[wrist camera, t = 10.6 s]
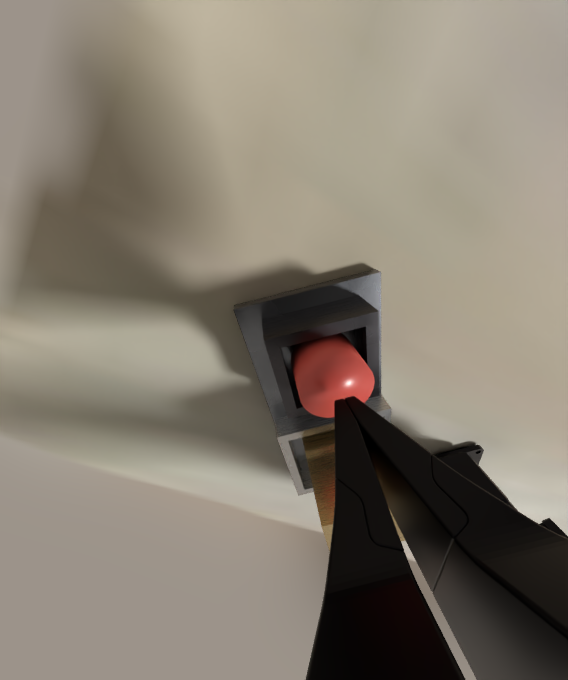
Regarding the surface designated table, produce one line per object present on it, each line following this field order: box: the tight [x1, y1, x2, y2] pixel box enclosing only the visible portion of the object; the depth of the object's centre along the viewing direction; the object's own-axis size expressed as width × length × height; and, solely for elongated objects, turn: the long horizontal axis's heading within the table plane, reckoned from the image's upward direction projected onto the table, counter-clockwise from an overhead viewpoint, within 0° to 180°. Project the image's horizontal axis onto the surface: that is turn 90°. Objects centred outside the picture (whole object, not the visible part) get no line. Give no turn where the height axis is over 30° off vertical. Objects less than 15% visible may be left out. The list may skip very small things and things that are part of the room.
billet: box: [302, 429, 405, 551], centre depth 15 cm, size 4×4×6 cm
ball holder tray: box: [234, 269, 391, 496], centre depth 15 cm, size 16×8×3 cm, turn 12°
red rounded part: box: [291, 333, 375, 418], centre depth 11 cm, size 3×3×3 cm
